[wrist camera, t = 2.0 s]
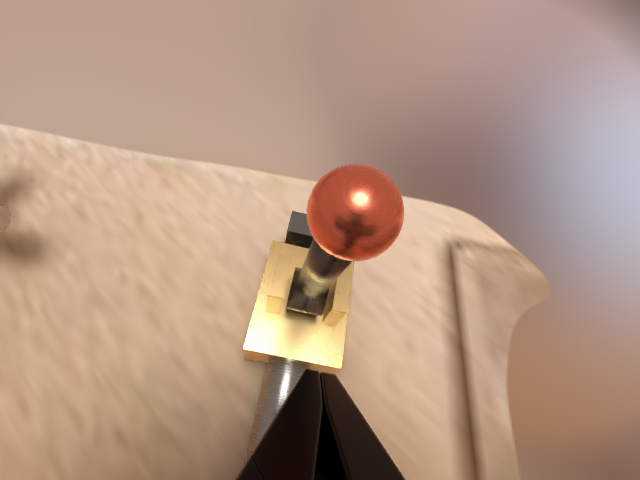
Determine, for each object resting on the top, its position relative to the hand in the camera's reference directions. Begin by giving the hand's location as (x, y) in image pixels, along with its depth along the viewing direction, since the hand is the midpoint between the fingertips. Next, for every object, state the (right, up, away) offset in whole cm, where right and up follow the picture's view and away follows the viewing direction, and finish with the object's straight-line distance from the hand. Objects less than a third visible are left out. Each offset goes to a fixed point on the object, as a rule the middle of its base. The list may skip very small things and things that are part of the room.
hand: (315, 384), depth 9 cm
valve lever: (-1, +1, +11) cm, 11 cm away
